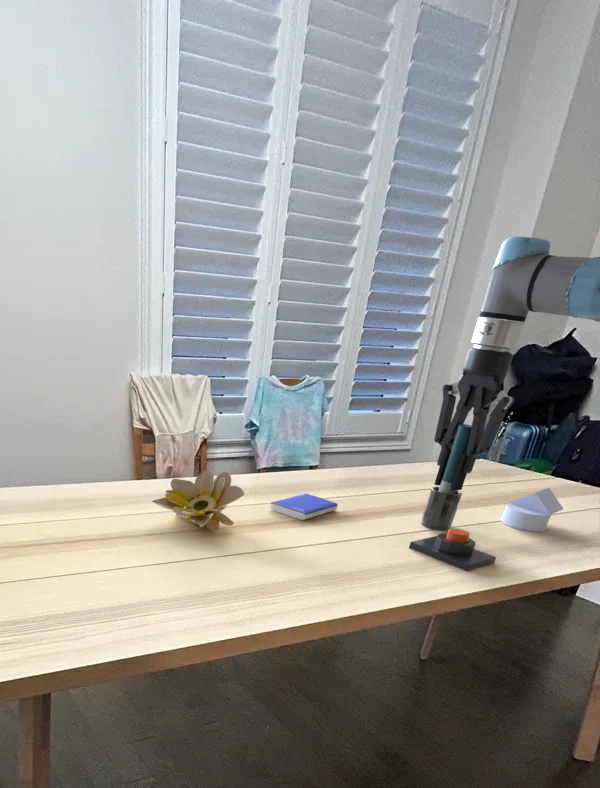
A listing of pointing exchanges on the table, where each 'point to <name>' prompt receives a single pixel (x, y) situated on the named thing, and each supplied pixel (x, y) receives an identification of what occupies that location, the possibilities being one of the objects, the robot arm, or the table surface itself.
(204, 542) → the table surface
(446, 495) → the pen holder
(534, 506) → the wedge on round base
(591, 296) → the robot arm
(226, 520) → the decorative flower
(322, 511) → the hard drive
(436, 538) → the station
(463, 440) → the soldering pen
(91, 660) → the table surface
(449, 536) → the power button
